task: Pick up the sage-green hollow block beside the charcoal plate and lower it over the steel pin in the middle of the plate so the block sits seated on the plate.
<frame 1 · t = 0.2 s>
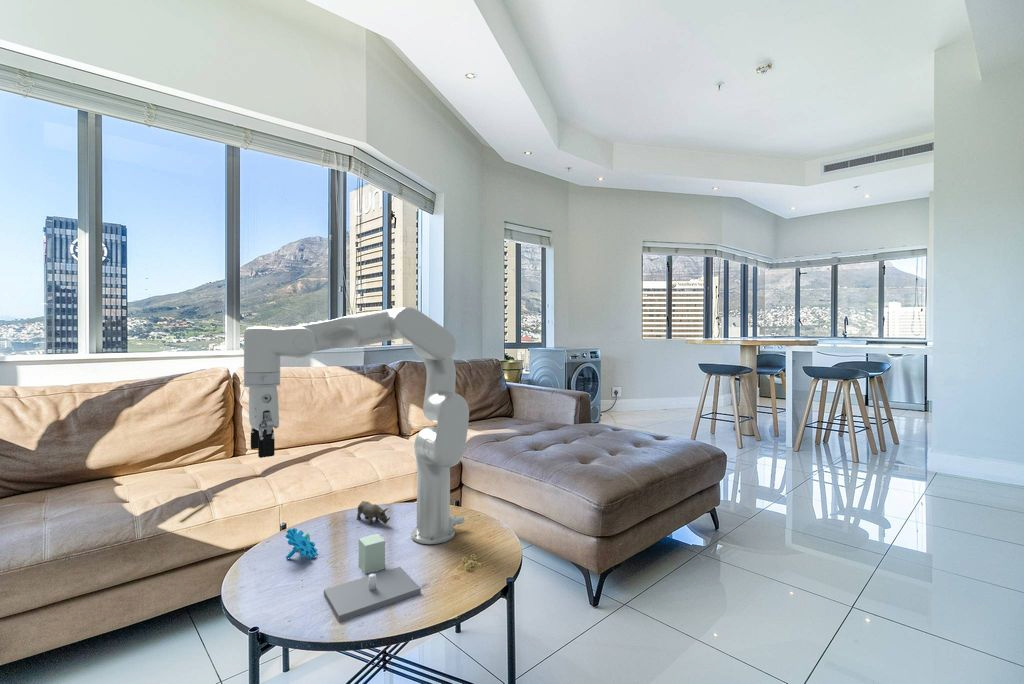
hand: (262, 452, 109), 31 cm above the table, tool pointing down, fingers open, 9 cm apart
rhino figurine: (373, 523, 144), on the table
dice set: (470, 567, 118), on the table
gear: (302, 557, 122), on the table
pin plate: (372, 594, 104), on the table
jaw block: (371, 567, 116), on the table
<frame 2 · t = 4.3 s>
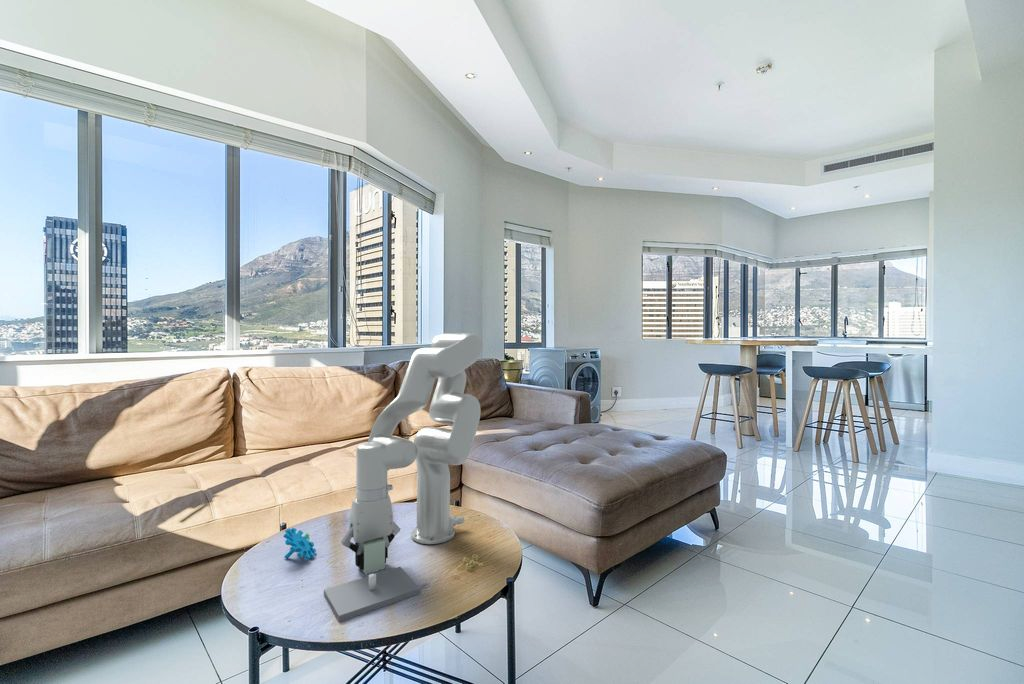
hand: (371, 563, 116), 1 cm above the table, tool pointing down, fingers closed on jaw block, 5 cm apart
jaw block: (371, 567, 116), on the table, touching gripper
everything else where it was.
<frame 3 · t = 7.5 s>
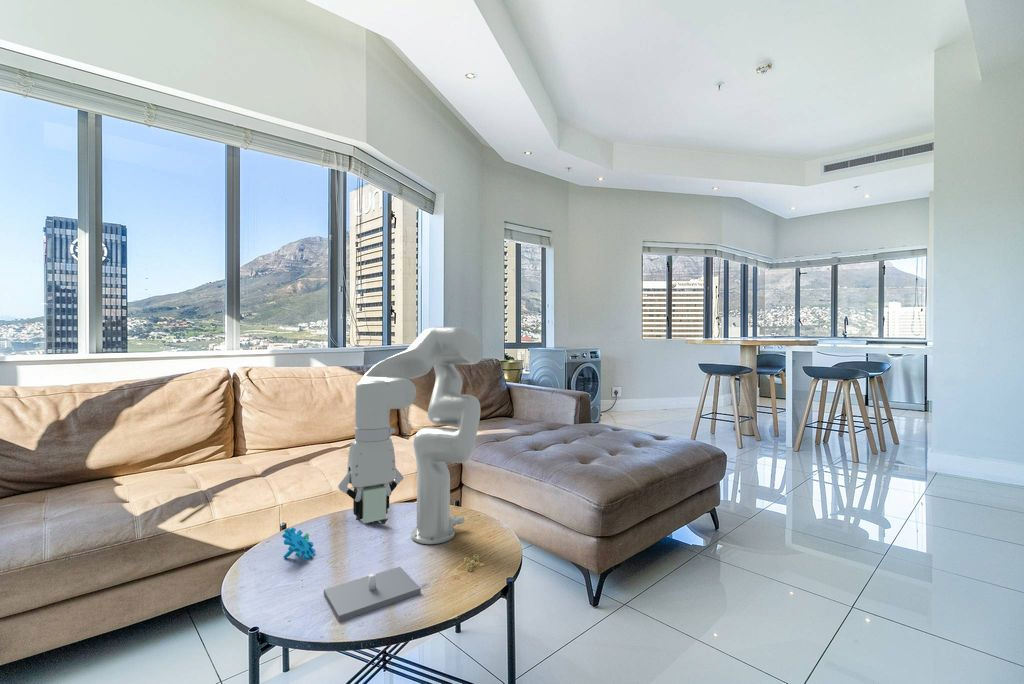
hand: (371, 513, 105), 18 cm above the table, tool pointing down, fingers closed on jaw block, 5 cm apart
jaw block: (371, 517, 105), point 17 cm above the table, touching gripper
everything else where it was.
when the fingers open (3 cm above the table, at t = 10.7 s): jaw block stays where it is, resting on pin plate.
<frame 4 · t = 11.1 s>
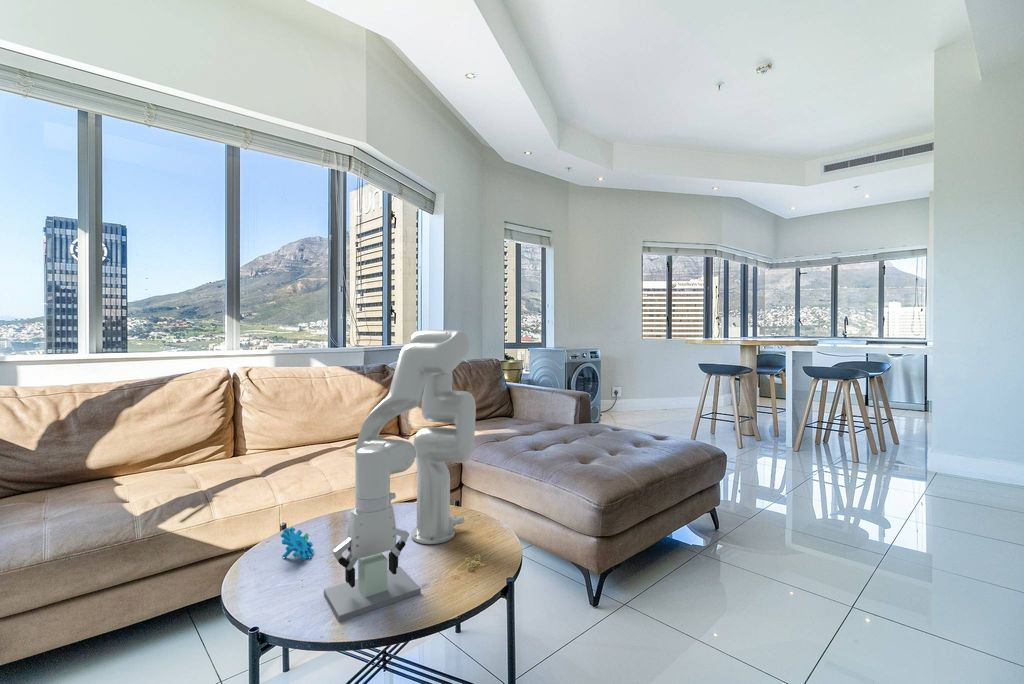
hand: (372, 578, 104), 4 cm above the table, tool pointing down, fingers open, 9 cm apart
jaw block: (372, 588, 104), point 1 cm above the table, touching pin plate
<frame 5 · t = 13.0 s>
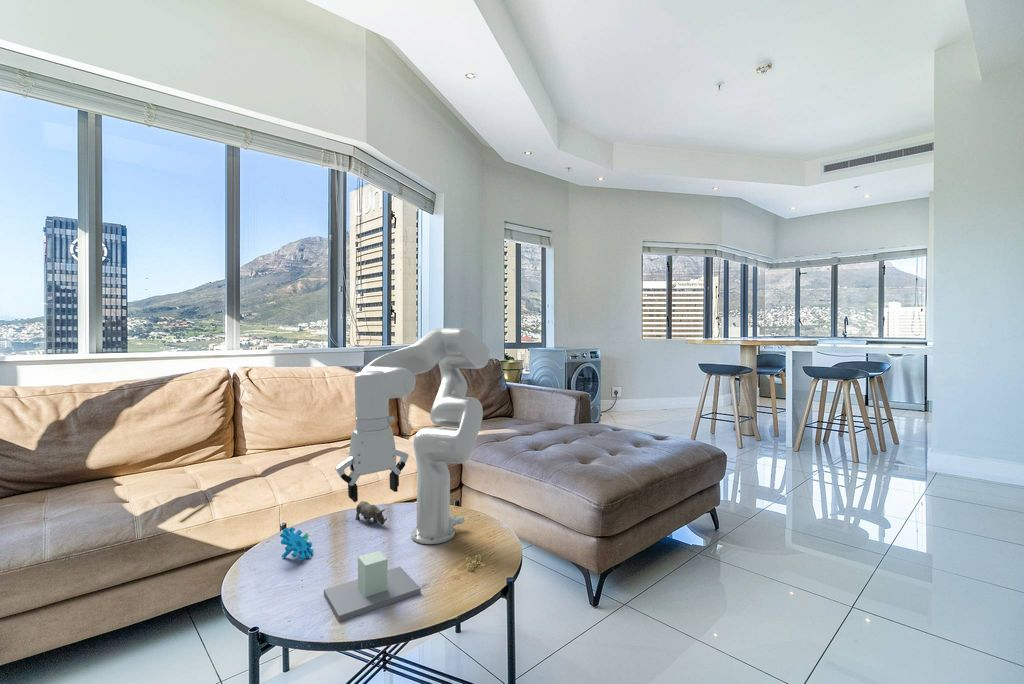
hand: (374, 495, 109), 21 cm above the table, tool pointing down, fingers open, 9 cm apart
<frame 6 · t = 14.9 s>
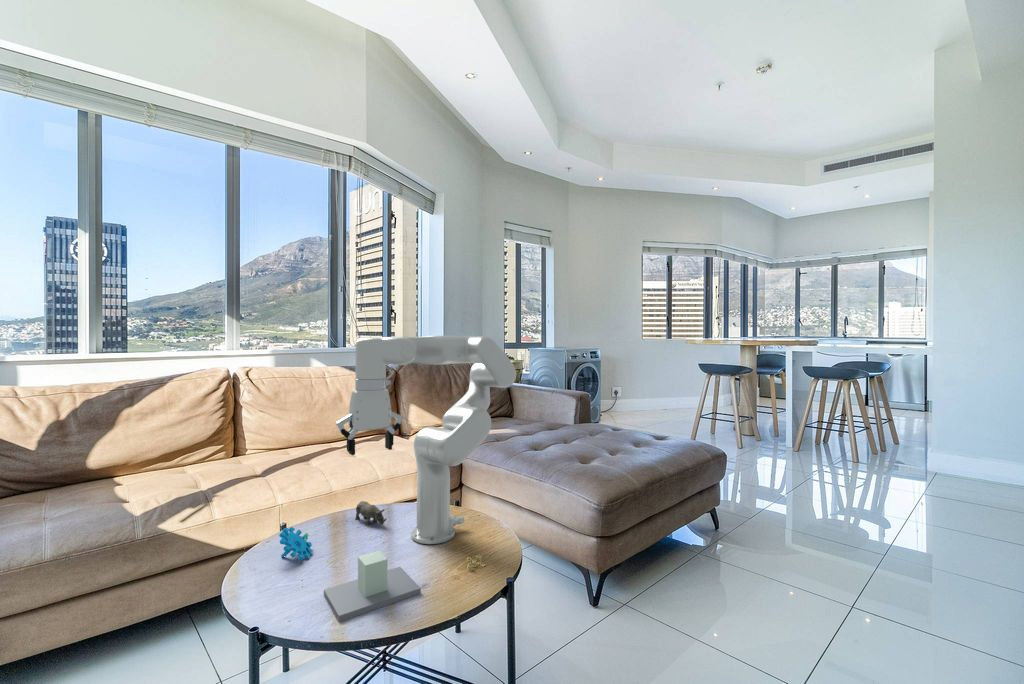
hand: (370, 451, 120), 28 cm above the table, tool pointing down, fingers open, 9 cm apart
at the end: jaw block 0.0 cm off-centre on the pin plate, point 1.2 cm above the pin plate's base; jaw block tilted 0°; the gripper is holding nothing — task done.
